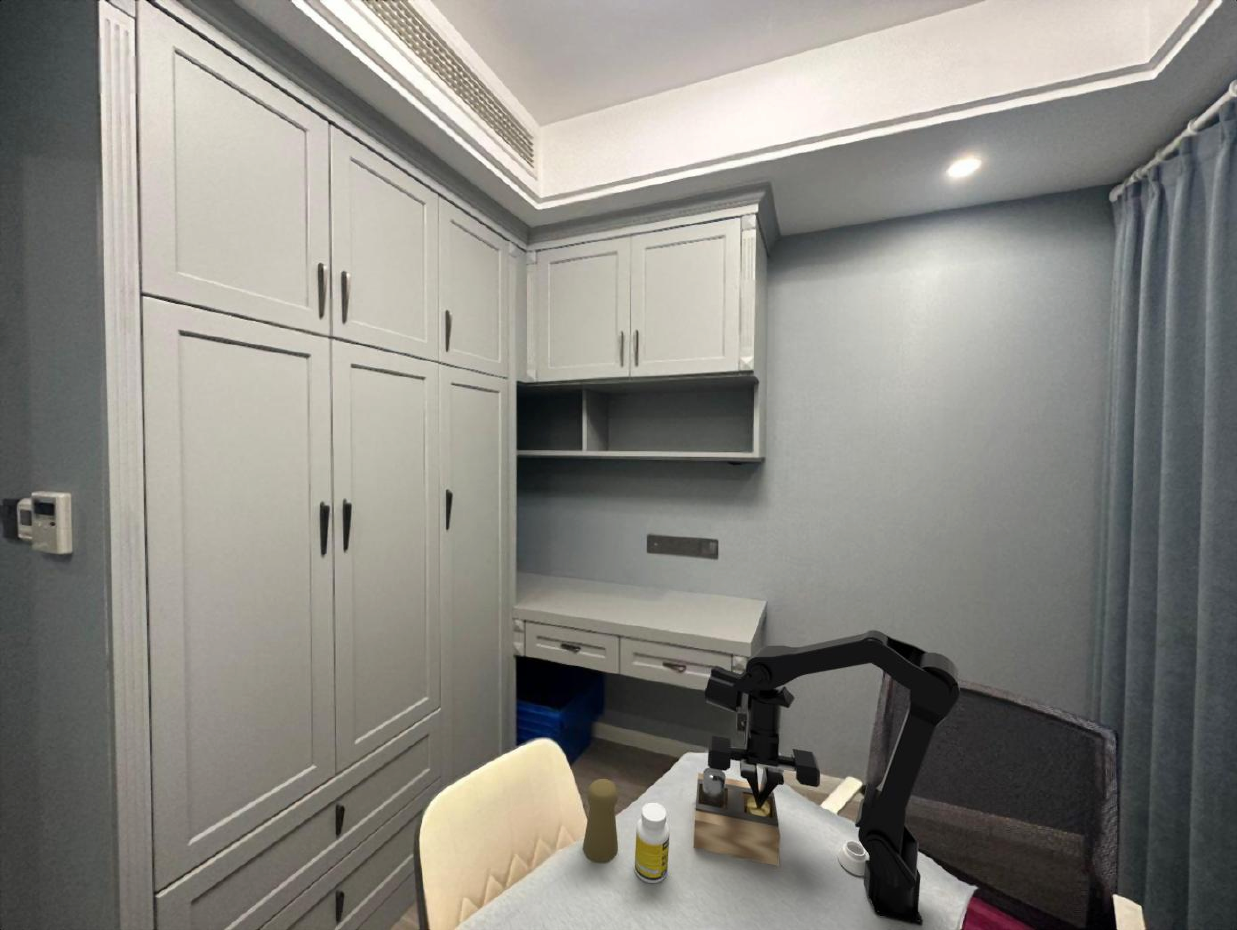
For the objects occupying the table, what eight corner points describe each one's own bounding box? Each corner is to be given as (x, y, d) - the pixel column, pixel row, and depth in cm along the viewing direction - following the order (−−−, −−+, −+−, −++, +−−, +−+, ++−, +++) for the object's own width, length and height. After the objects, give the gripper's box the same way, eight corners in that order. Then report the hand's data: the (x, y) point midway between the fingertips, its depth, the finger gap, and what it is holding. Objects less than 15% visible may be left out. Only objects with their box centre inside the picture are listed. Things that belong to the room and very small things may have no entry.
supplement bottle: (665, 888, 74) (668, 828, 74) (631, 881, 75) (634, 821, 75) (669, 859, 80) (671, 802, 79) (637, 852, 81) (639, 796, 80)
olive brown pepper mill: (586, 830, 85) (589, 770, 84) (620, 835, 84) (623, 775, 83) (579, 860, 79) (581, 795, 78) (615, 865, 78) (618, 801, 77)
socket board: (771, 811, 91) (772, 784, 90) (778, 866, 79) (780, 834, 79) (696, 797, 94) (698, 771, 93) (693, 847, 82) (694, 817, 82)
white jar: (878, 874, 78) (854, 849, 83) (879, 857, 78) (855, 833, 83) (854, 881, 77) (831, 855, 82) (855, 864, 77) (832, 839, 82)
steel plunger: (724, 794, 88) (725, 769, 88) (724, 810, 85) (725, 784, 84) (702, 790, 89) (703, 765, 89) (701, 806, 85) (702, 780, 85)
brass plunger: (767, 824, 87) (769, 799, 87) (769, 842, 83) (771, 816, 83) (745, 820, 88) (746, 795, 88) (746, 837, 84) (747, 811, 84)
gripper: (810, 704, 90) (806, 784, 91) (711, 690, 94) (707, 766, 95) (823, 740, 80) (817, 830, 80) (709, 722, 83) (705, 808, 84)
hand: (758, 805), depth 85 cm, fingers closed, pressing on brass plunger
